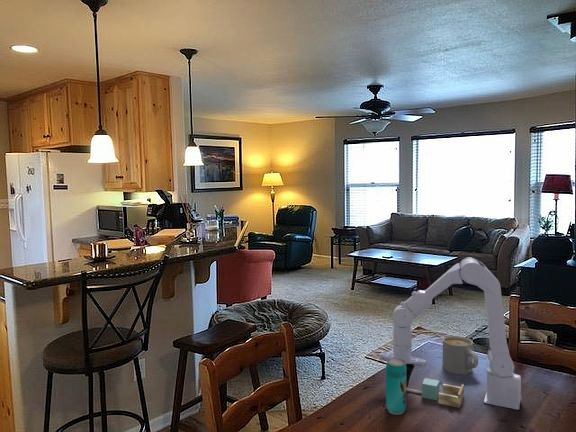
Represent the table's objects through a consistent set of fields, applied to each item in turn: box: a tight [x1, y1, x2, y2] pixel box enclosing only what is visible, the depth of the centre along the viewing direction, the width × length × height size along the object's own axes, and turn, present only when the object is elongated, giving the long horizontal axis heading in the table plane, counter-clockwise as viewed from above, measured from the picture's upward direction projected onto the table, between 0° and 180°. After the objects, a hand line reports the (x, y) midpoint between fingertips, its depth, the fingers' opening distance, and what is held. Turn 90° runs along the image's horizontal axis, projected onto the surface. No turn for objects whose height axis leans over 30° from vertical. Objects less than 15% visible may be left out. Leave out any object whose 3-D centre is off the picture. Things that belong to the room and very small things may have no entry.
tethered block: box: [406, 377, 440, 401], centre depth 148 cm, size 12×4×6 cm, turn 62°
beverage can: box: [385, 358, 407, 416], centre depth 137 cm, size 6×6×15 cm
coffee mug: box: [441, 335, 479, 375], centre depth 165 cm, size 13×10×10 cm
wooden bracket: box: [437, 383, 465, 408], centre depth 144 cm, size 6×8×4 cm
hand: (402, 385), depth 151 cm, fingers closed on tethered block, 2 cm apart
